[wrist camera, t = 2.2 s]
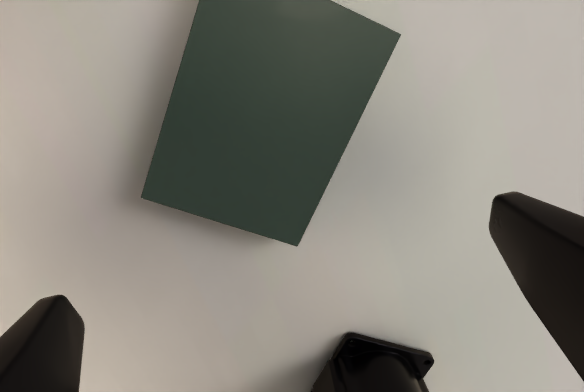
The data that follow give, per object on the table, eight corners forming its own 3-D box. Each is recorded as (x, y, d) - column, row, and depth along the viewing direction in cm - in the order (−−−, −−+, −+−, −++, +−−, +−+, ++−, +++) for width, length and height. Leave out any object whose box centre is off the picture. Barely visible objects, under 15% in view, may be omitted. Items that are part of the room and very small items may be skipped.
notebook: (391, 32, 18) (401, 34, 17) (294, 233, 22) (297, 246, 21) (218, -51, 16) (215, -55, 15) (147, 186, 20) (140, 197, 19)
